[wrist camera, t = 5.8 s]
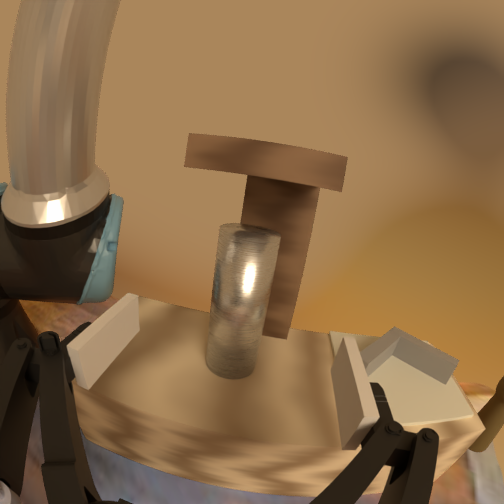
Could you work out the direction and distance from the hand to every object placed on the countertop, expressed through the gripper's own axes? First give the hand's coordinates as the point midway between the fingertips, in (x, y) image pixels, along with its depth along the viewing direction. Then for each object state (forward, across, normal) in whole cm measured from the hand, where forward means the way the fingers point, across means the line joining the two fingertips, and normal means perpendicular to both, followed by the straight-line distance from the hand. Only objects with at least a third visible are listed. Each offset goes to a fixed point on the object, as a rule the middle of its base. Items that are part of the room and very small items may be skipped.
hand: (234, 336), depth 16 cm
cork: (+3, +35, -17) cm, 39 cm away
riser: (+5, +6, -17) cm, 18 cm away
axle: (+5, 0, -7) cm, 8 cm away
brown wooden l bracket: (+7, 0, -7) cm, 10 cm away
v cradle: (+5, +16, -7) cm, 19 cm away
